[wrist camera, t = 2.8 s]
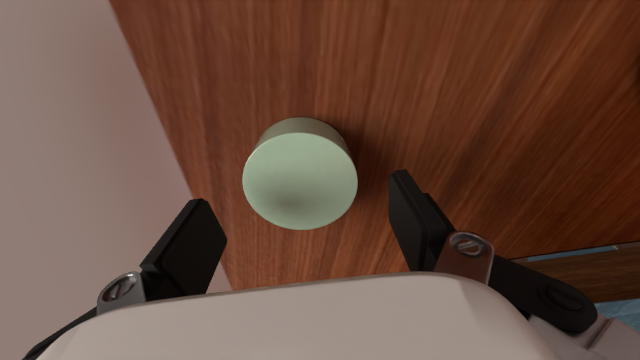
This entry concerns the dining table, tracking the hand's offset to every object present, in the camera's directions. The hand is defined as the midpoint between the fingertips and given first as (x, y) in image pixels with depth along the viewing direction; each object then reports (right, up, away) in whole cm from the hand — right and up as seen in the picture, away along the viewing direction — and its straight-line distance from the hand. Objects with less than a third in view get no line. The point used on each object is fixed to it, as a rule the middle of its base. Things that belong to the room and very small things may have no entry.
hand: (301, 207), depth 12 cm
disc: (0, +3, +5) cm, 5 cm away
